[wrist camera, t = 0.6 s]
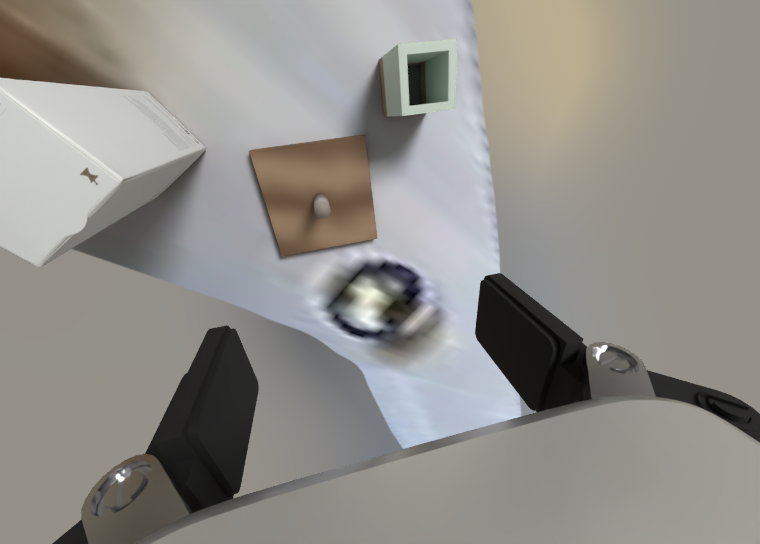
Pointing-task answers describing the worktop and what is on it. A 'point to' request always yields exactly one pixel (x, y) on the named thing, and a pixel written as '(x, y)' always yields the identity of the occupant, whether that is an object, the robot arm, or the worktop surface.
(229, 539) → the robot arm
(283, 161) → the pin board
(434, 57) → the sleeve
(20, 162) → the skincare box
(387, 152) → the worktop surface
